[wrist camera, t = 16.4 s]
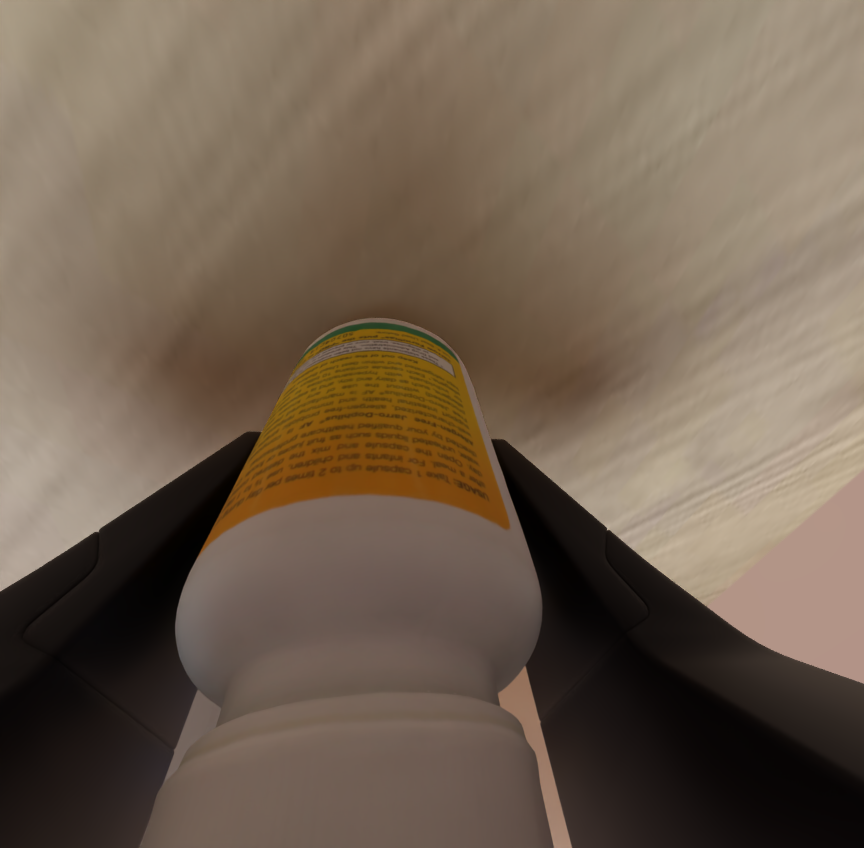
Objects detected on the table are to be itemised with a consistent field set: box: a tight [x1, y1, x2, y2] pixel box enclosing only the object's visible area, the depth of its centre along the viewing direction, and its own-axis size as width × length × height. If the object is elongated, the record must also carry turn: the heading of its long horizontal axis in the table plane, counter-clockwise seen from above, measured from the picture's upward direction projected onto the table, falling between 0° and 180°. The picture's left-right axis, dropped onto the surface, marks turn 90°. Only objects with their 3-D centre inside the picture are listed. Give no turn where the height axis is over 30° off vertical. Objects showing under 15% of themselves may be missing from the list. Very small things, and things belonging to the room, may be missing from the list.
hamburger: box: [498, 667, 572, 848], centre depth 21 cm, size 12×8×12 cm
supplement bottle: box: [140, 318, 554, 848], centre depth 7 cm, size 5×5×10 cm
